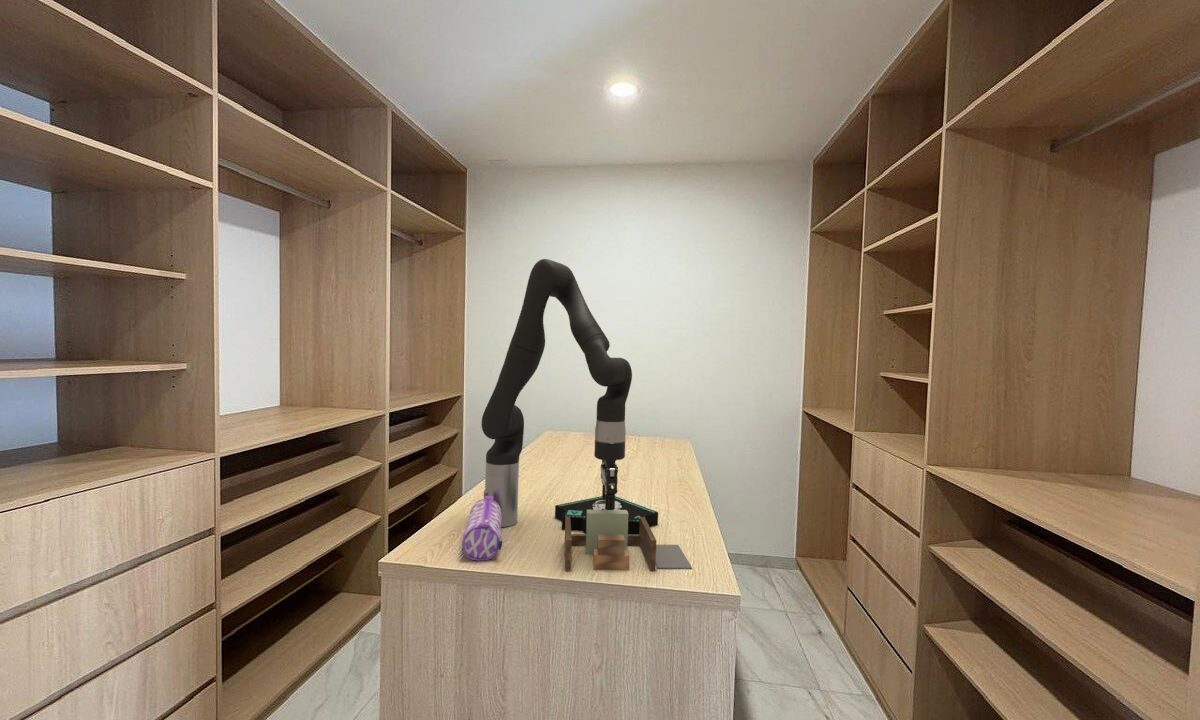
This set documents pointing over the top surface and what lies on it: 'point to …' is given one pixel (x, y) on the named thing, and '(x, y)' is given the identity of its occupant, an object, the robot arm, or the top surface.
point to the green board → (605, 526)
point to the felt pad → (671, 557)
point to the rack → (642, 539)
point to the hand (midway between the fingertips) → (608, 504)
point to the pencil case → (483, 530)
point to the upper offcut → (610, 544)
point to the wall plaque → (579, 509)
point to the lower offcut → (611, 561)
